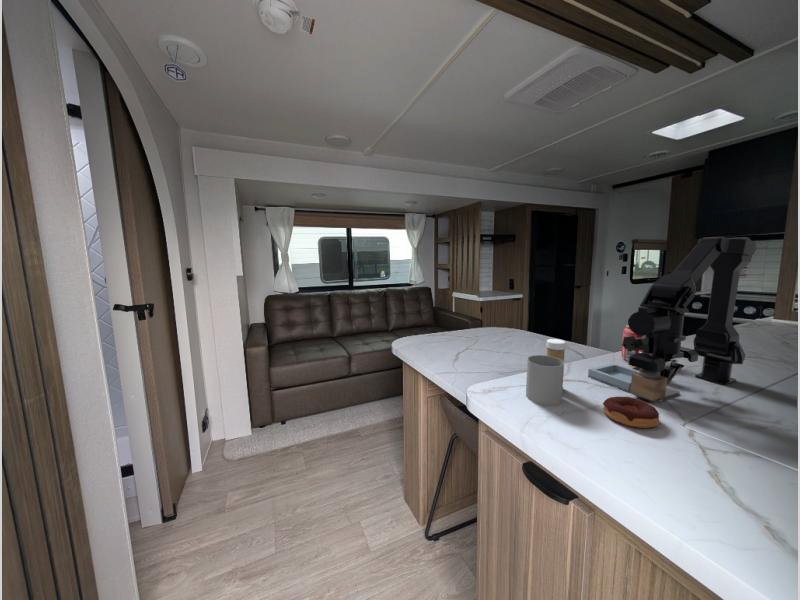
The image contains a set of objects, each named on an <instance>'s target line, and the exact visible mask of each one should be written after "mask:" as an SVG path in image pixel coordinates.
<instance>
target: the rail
mask: <svg viewBox="0 0 800 600" xmlns="http://www.w3.org/2000/svg"><path fill="white" fill-rule="evenodd" d="M680 394H681V392H680V391H679V390H676V389H672V388H669V387H667V386H666V393H665V397H664V398H661V399H658V400H655V401H651V400H649V399H646V398H643V397H641V396H638V395H636V394H635V397H638V398H640V399H643V400H646V401H648V402H651V403H658V402H660V401H663V400H666V399H669V398H672V397H674V396H678V395H680Z"/></svg>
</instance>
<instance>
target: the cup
mask: <svg viewBox="0 0 800 600" xmlns="http://www.w3.org/2000/svg"><path fill="white" fill-rule="evenodd" d="M564 371H565V361H564V362H563V361H562V360H561V359H558V358H555V357H551V356H547V355H545V354H544V355H542V354H541V355H540V354H536V355H535V354H534V355H531V356H528V357H527V360H526V381H525V382H526V385H525V386H526V387H525V397H526V398H527V399H528V401H531V402H533V403H534V404H537V405H541V406H547V407H554V406H559V405H561V404H562V403H563V402H562V401H563V399H562V398H563V389H564V387H563V386H564V376H563V373H564V374H565V372H564Z"/></svg>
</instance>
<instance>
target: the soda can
mask: <svg viewBox="0 0 800 600" xmlns="http://www.w3.org/2000/svg"><path fill="white" fill-rule="evenodd" d="M630 336H634V337H635V338H642V337H646V335H644V336H641V335H637V334H635V333H634V332H632V331H631V329H630V328H629V325H628V324H626V325H625V327H624V328H623V332H622V341H621V351H620V352H621V353H620V355H621V358H622V359H624V361H625V362H626V361H627V362H628V358H629V356H631V355H633V354H637V353H639V350H634V351H629V352H628V351H627V349H625V348H624V347H623V346H622V344H623V339H624V337H630Z"/></svg>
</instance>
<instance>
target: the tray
mask: <svg viewBox="0 0 800 600" xmlns="http://www.w3.org/2000/svg"><path fill="white" fill-rule="evenodd" d="M628 367H629V366H624V365H620V364H618V363H615V362H612V363H607V364H604V365H599V366H596V367H591V368H588V372H587V377H588V378H590V377H591V378H590V379H592V378H593V380H595V379H596V380H595V381H598V382H600V383H603V384H605V383H606V385H608V386H611V387H613V386H614V388H616V387H617V389H618V388H619V390H621V389H622V391H623V392H627V393H630V390H631V380H632V374H634V373H638V372H639V371H637V370H634V369H631V368H628Z"/></svg>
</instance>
